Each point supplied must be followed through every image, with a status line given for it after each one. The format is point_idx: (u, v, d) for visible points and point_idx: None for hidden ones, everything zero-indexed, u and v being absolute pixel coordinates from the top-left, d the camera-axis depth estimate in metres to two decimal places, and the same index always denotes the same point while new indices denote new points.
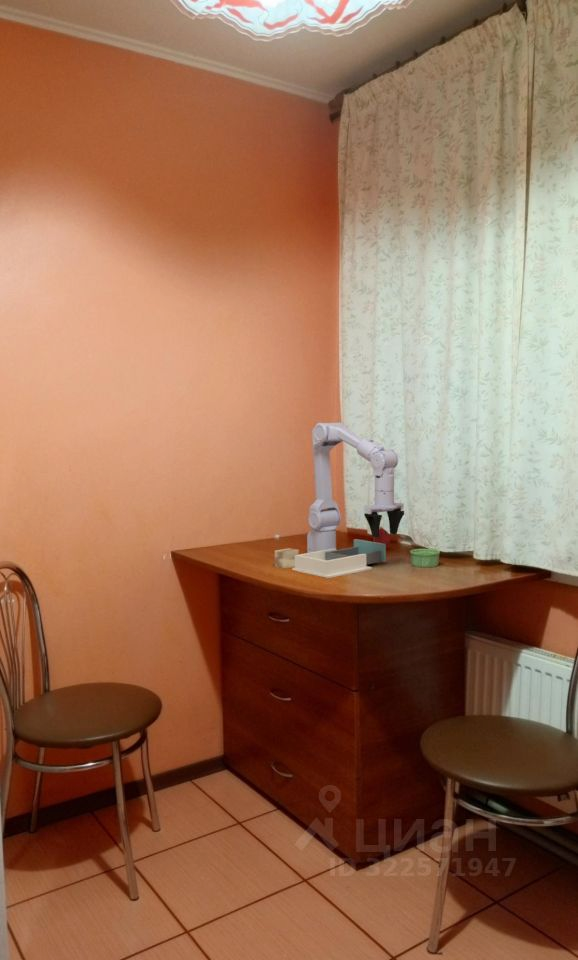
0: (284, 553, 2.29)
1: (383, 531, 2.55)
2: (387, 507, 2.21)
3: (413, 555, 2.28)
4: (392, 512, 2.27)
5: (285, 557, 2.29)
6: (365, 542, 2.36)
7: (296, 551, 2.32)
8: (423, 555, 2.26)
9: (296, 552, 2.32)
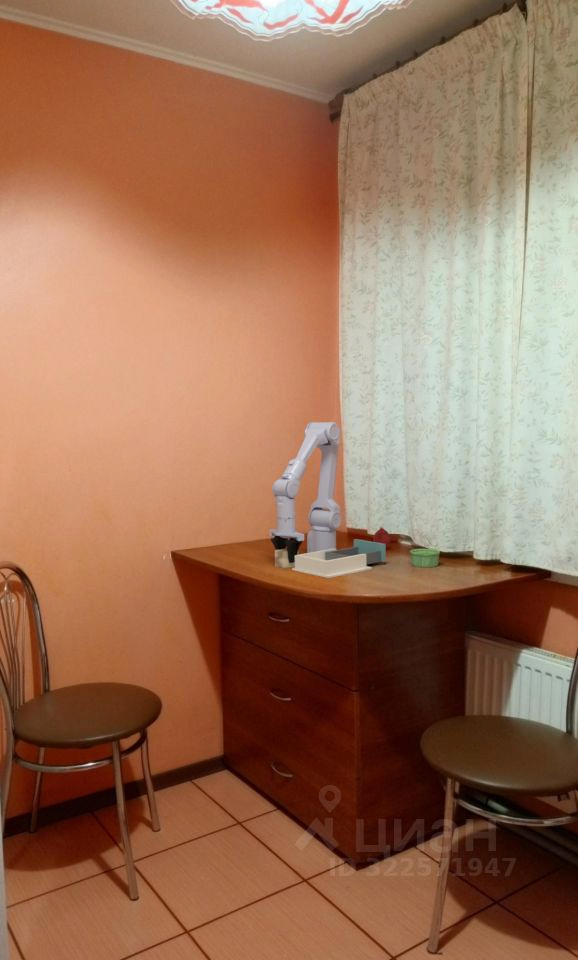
0: (284, 553, 2.29)
1: (383, 531, 2.55)
2: (276, 533, 2.31)
3: (413, 555, 2.28)
4: None
5: (285, 557, 2.29)
6: (365, 542, 2.36)
7: None
8: (423, 555, 2.26)
9: None
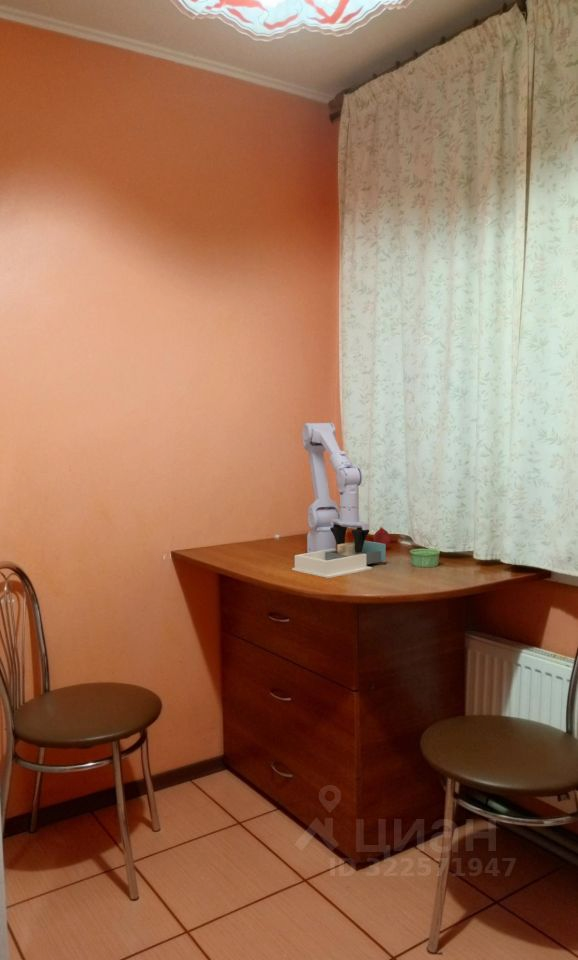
0: (348, 547, 2.26)
1: (383, 531, 2.55)
2: None
3: (413, 555, 2.28)
4: None
5: (349, 551, 2.27)
6: (365, 542, 2.36)
7: None
8: (423, 555, 2.26)
9: None
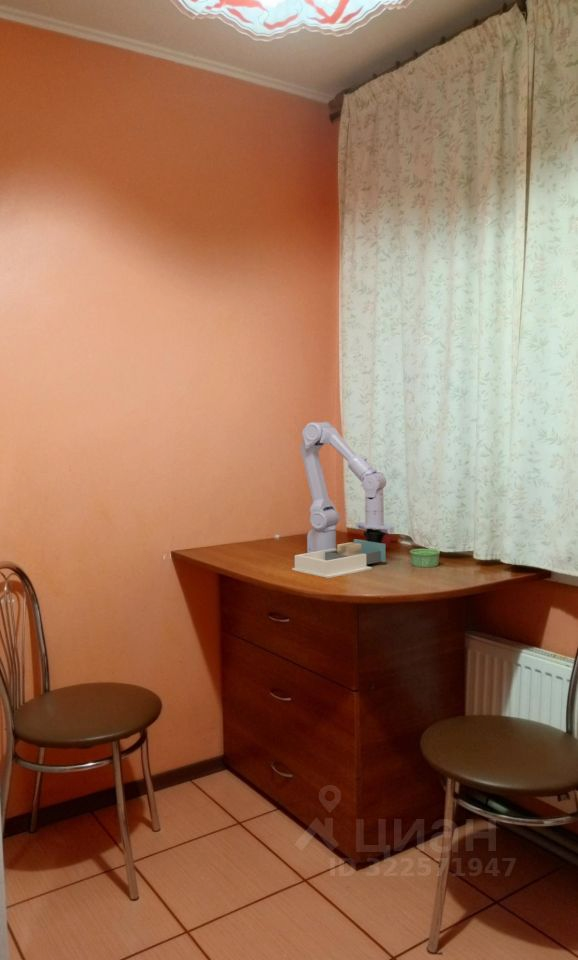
0: (348, 547, 2.26)
1: None
2: (365, 526, 2.36)
3: (413, 555, 2.28)
4: None
5: (349, 551, 2.27)
6: (365, 542, 2.36)
7: (359, 545, 2.29)
8: (423, 555, 2.26)
9: (359, 546, 2.29)
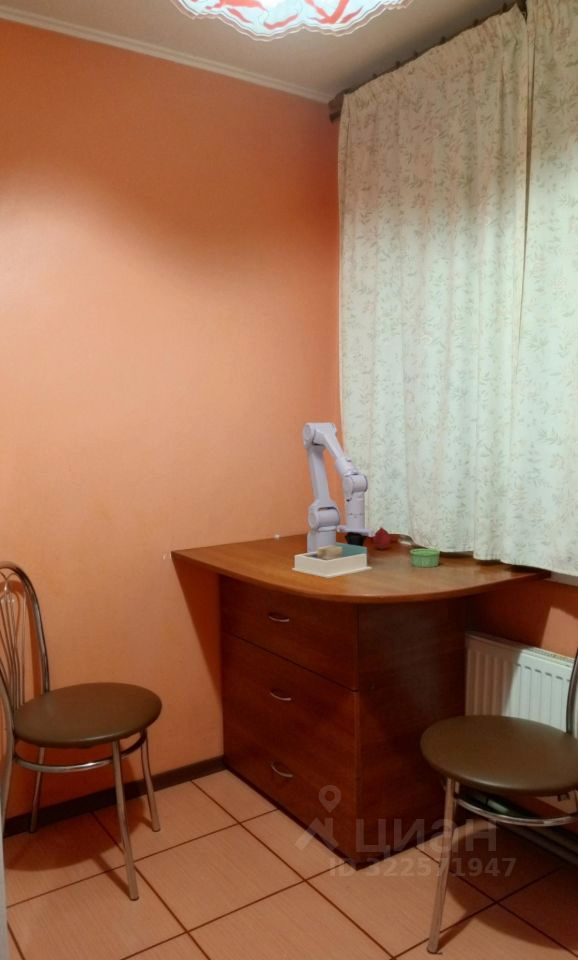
0: (328, 550, 2.21)
1: (383, 531, 2.55)
2: (346, 529, 2.30)
3: (413, 555, 2.28)
4: None
5: (329, 555, 2.21)
6: (346, 545, 2.31)
7: (339, 548, 2.24)
8: (423, 555, 2.26)
9: (339, 549, 2.24)
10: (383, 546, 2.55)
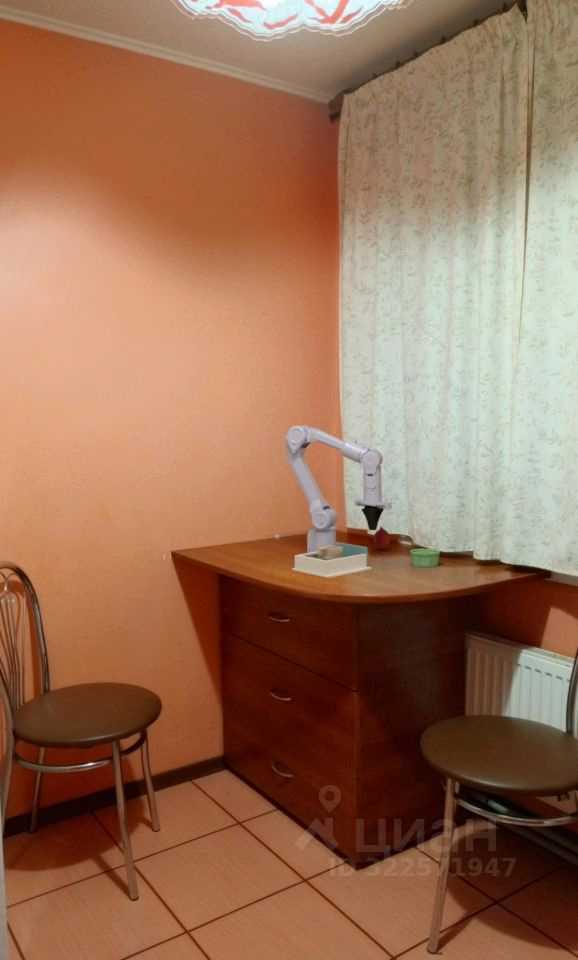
0: (329, 550, 2.21)
1: (383, 531, 2.55)
2: None
3: (413, 555, 2.28)
4: None
5: (330, 555, 2.21)
6: (347, 545, 2.31)
7: (340, 548, 2.24)
8: (423, 555, 2.26)
9: (340, 549, 2.24)
10: (383, 546, 2.55)
